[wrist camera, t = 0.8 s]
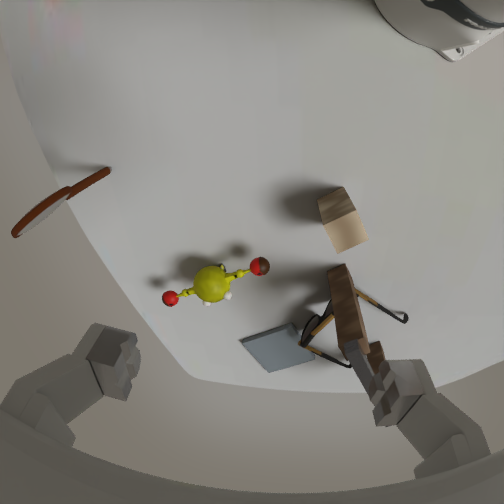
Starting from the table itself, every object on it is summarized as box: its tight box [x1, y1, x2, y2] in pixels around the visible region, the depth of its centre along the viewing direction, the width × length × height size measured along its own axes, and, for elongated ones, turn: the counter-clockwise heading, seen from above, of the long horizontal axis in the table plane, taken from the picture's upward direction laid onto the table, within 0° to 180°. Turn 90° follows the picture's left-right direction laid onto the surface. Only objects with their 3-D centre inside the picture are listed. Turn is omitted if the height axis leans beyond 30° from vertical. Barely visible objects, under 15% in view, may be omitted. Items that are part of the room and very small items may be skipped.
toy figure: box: [162, 257, 270, 307], centre depth 43 cm, size 18×6×7 cm, turn 117°
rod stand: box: [327, 264, 385, 375], centre depth 41 cm, size 3×22×15 cm, turn 31°
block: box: [317, 187, 369, 254], centre depth 35 cm, size 4×4×8 cm
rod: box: [344, 339, 391, 427], centre depth 34 cm, size 2×23×2 cm, turn 31°
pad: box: [242, 323, 315, 373], centre depth 53 cm, size 10×10×1 cm
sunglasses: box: [298, 289, 408, 368], centre depth 46 cm, size 14×15×5 cm
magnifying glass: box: [11, 167, 112, 238], centre depth 30 cm, size 9×2×20 cm, turn 116°
